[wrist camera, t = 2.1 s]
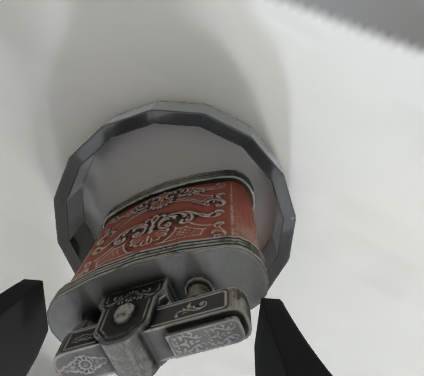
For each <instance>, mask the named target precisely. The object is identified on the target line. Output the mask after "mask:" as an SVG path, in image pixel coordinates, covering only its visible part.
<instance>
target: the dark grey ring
mask: <svg viewBox="0 0 424 376" xmlns="http://www.w3.org/2000/svg"><path fill="white" fill-rule="evenodd" d="M154 123H157V124H170V125H183V126H197V127H202V128H204V129H206V130H208V131H210V132H212V133H214V134H216V135H218V136H220V137H223V138H225V139H227V140H229V141H231V142H233V143H235V144H237V145H239V146H241V147H243V149H244V150H245V151H246V152H247V153H248V154H249V155H250V157H251V158H252V159H253V160H254V161H255V162H256V164H257V165H258V166H259V167H260V168H261V169H262V170H263V172H264V173H265V174H266V175H267V176H268V177H269V179H270V180H271V182H272V185H273V188H274V192H275V195H276V198H277V206H276V213H275V220H274V227H273V234H272V237H271V238H270V240H269V241H268V243H267V245H266V246H265V248H264V249H263V251H262V252H261V253H262V255H263V257H264V258H265V262H266V268H267V274H268V280H269V286H268V290H269V288H270V287H271V285H272V284H273V282H274V281H275V279H276V278H277V276H278V275H279V273H280V272H281V271H282V269H283V268H284V266H285V265H286V263H287V262H288V260H289V257H290V251H291V245H292V239H293V233H294V227H295V221H296V216H295V212H294V209H293V205H292V202H291V198H290V195H289V191H288V188H287V184H286V181H285V177H284V174H283V172H282V169H281V167H280V164H279V162H278V160H277V158H276V157H275V156H274V155H273V153H272V152H271V151H270V150H269V149H268V147H267V146H266V145H265V144H264V143H263V142H262V140H261V139H260V138H259V137H258V136H257V134H256V133H255V132H254V131H253V130H252V129H251V127H250V126H248V125H247V124H245V123H243V122H241V121H239V120H237V119H235V118H233V117H231V116H229V115H227V114H225V113H223V112H221V111H219V110H217V109H215V108H213V107H211V106H209V105H206V104H195V103H181V102H168V101H160V102H159V101H157V102H155V103H152V104H149V105H146V106H143V107H140V108H137V109H134V110H131V111H128V112H125V113H122V114H120V115H117V116H115V117H114V118H112V119H111V120H110V121H108V122H107V123H106V124H104V125H103V126H102V127H101V128H100V129H99V130H98V131H97V132H96V133H95V134H93V135H92V136H91V137H90V138H89V139H88V140H87V141H86V142H85V143H84V144H83V145H82V146H81V147H80V148H79V149H78V150H77V151H76V152H75V153H74V154H72V155H71V156H70V158H69V159H68V162H67V164H66V167H65V170H64V173H63V175H62V178H61V181H60V183H59V186H58V189H57V191H56V194H55V197H54V208H55V219H56V230H57V240H58V244H59V245H60V247H61V249H62V251H63V253H64V255H65V256H66V258H67V260H68V262H69V264H70V266H71V267H72V269H73V271H74V273H75V274H76V272H77V271H78V269H79V267H80V266H81V264H82V263H83V261H84V259H85V258H86V256H87V255H88V253H89V251H90V250H91V248H92V247H93V245H94V243H95V240H94V238H93V236H92V234H91V232H90V231H89V229H88V227H87V225H86V223H85V221H84V207H83V191H82V185H83V183H84V180H85V178H86V175H87V173H88V170H89V168H90V165H91V163H92V160H93V157H94V155H95V153H96V152H97V151H98V150H99V149H100V148H101V147H102V146H103V145H104V144H105V143H106V142H107V141H109V140H110V139H111V138H112V137H115V136H118V135H121V134H124V133H127V132H130V131H133V130H136V129H139V128H142V127H145V126H148V125H151V124H154Z"/></svg>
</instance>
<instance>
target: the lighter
mask: <svg viewBox="0 0 424 376" xmlns="http://www.w3.org/2000/svg"><path fill="white" fill-rule="evenodd" d="M254 207H255V197H254V191H253V186H252V185H251V183H250V181H249V179H248V178H247V177H246V176H244V175H243V174H242V173H240V172H238V171H235V170H223V171H216V172H208V173H201V174H195V175H191V176H188V177H184V178H180V179H176V180H172V181H168V182H165V183H163V184H160V185H158V186H156V187H153V188H151V189H148V190H146V191H144V192H141V193H139V194H137V195H135V196H133V197H132V198H130V199H128V200H126V201H125V202H123V203H121V204H119V205H118V206H116V207H114V208H113V209H112V210H111V211H110V212H109V214H108V215H107V217H106V218H105V221H104V223H103V225H102V232H101V234H100V235H99V237H98V239H97V240H96V242H95V243H94V245H93V247H92V248H91V250H90V251H89V253H88V255H87V256H86V258H85V259H84V261H83V263H82V264H81V266H80V267H79V269H78V271H77V272H76V274H75V275H74V277H73V279H72V280H71V282H69V283H67V284H66V285H64V286H63V287H62V288H61V289H60V290H59V291H58V292H57V294H56V296H55V297H54V299H53V300H52V302H51V303H50V306H49V308H48V311H47V322H48V325H49V327H50V329H51V331H52V333H53V334H54V335H55V336H56V337H57V339H58V340H59V341H60V342H62V344H61V346H60V348H59V350H58V352H57V353H56V355H55V357H54V359H53V365H54V367H55V370H56V371H57V373H58V374H59V375H60V376H106V375H110V374H114V373H116V374H117V375H118V376H153V375H154V374H155V373H156V372H157V370H158V369H159V367H160V366H162V365H163V364H164V363H165V362H166V361H167V360H169V359H172V358H180V357H184V356H188V355H192V354H196V353H200V352H203V351H207V350H211V349H215V348H219V347H223V346H227V345H231V344H235V343H238V342H241V341H243V340H244V339H246V338H248V337H249V336H250V335H251V331H252V326H251V314H250V310H251V309H253V308H254V307H256V306H257V305H259V304H260V303H261V298H264V297H265V296H266V294H267V291H268V286H269V280H268V274H267V268H266V262H265V258H264V257H263V255H262V253H261V251H260V250H259V247H258V241H257V234H256V227H255V220H254V214H253V211H254Z"/></svg>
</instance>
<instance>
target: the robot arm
mask: <svg viewBox="0 0 424 376" xmlns="http://www.w3.org/2000/svg"><path fill="white" fill-rule="evenodd" d="M47 332H48V323H47V314H46V306H45V297H44V288H43V281H40V280H28V279H24V280H22V281H20V282H19V283H17V284H15V285H14V286H12V287H10V288H9V289H7V290H6V291H4V292H3V293H1V294H0V376H26V375H27V373H28V371H29V370H30V368H31V366H32V365H33V363H34V361H35V359H36V357H37V355H38V353H39V351H40V348H41V346H42V344H43V341H44V339H45V337H46V334H47ZM254 349H255V375H256V376H332V374H331V373H330V372H329V371H328V370H327V368H326V367H325V366H324V364H323V363H322V362H321V361H320V359H319V358H318V357H317V355H316V354H315V353H314V351H313V350H312V348H311V347H310V345H309V344H308V343H307V341H306V340H305V338H304V337H303V335H302V334H301V332H300V331H299V329H298V328H297V326H296V324H295V323H294V321H293V320H292V318H291V316H290V315H289V313H288V311H287V309H286V308H285V306H284V304H283V302H282V301H281V300H280V299H270V298H261V303H260V310H259V317H258V324H257V332H256V339H255V346H254Z"/></svg>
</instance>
